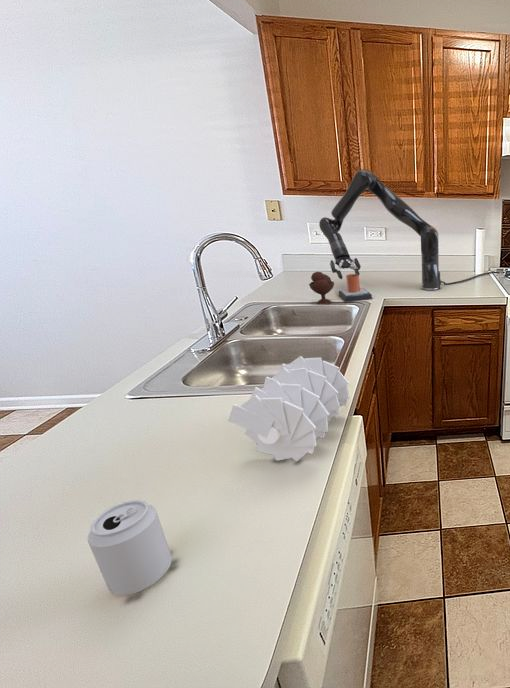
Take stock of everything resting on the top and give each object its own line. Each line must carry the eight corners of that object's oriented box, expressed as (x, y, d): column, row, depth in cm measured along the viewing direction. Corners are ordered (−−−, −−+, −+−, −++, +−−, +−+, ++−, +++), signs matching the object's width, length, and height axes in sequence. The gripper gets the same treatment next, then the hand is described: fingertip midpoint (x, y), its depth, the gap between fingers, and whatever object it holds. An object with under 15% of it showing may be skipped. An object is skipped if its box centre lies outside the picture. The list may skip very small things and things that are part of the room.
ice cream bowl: (328, 306, 184) (324, 274, 179) (306, 304, 186) (302, 273, 181) (340, 300, 194) (337, 270, 189) (319, 298, 196) (316, 268, 191)
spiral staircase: (341, 422, 105) (296, 486, 82) (278, 393, 103) (214, 451, 80) (366, 366, 100) (327, 418, 76) (301, 335, 98) (239, 378, 74)
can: (104, 578, 59) (77, 517, 55) (164, 545, 65) (144, 487, 61) (117, 610, 55) (90, 547, 51) (180, 572, 61) (160, 512, 56)
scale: (363, 292, 208) (363, 287, 207) (371, 298, 198) (371, 293, 197) (338, 295, 202) (338, 289, 201) (345, 302, 191) (344, 296, 190)
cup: (358, 288, 203) (356, 273, 200) (361, 291, 199) (360, 276, 196) (346, 290, 200) (344, 274, 197) (349, 293, 196) (348, 277, 193)
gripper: (327, 247, 197) (337, 274, 193) (354, 245, 205) (365, 271, 201) (324, 256, 203) (334, 283, 198) (351, 254, 211) (361, 279, 207)
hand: (350, 277), depth 200 cm, fingers open, 8 cm apart
